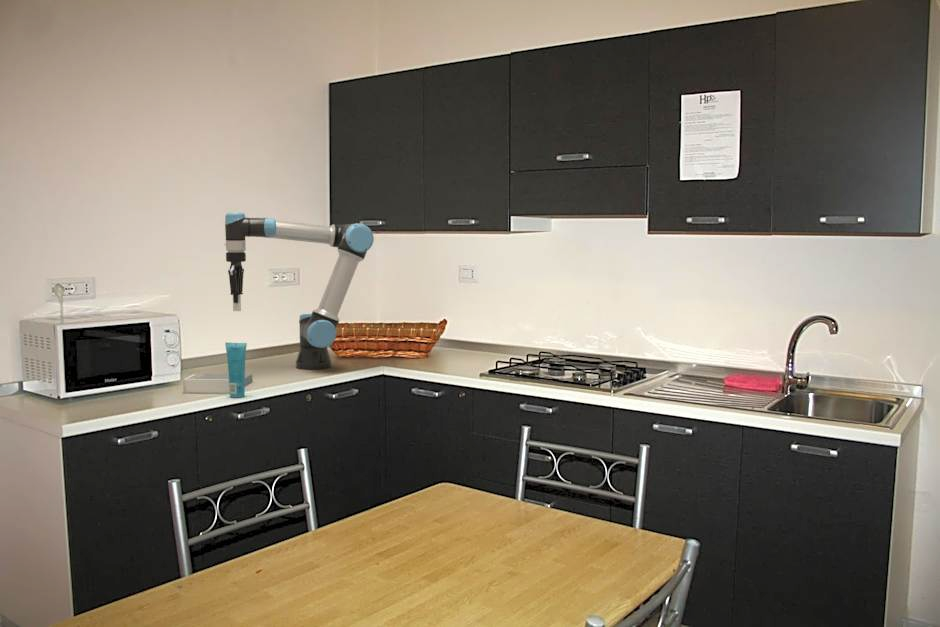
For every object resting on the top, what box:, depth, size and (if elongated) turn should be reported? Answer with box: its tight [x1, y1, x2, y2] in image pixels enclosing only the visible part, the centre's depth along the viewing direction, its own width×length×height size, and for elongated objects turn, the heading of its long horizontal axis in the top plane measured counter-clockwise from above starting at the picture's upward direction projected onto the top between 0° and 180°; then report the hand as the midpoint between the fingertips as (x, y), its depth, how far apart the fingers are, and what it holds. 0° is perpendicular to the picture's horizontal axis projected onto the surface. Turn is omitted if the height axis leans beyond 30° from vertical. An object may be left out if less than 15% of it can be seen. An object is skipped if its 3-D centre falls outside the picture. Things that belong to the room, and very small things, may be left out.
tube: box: [225, 342, 248, 398], centre depth 285 cm, size 7×5×19 cm, turn 96°
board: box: [196, 373, 253, 387], centre depth 308 cm, size 18×13×3 cm
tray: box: [182, 373, 230, 395], centre depth 297 cm, size 18×11×5 cm, turn 89°
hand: (237, 310), depth 324 cm, fingers closed
